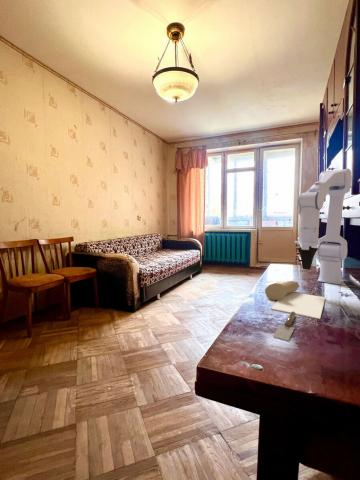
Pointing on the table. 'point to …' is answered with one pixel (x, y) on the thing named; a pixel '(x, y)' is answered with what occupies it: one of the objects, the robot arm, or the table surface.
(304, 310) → the felt mat
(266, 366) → the table surface
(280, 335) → the turner
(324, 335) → the table surface
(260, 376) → the table surface
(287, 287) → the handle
